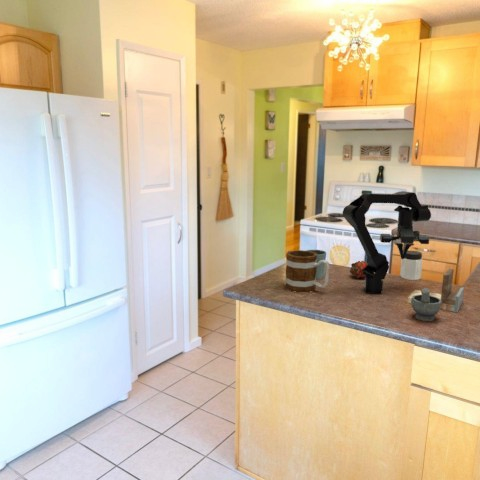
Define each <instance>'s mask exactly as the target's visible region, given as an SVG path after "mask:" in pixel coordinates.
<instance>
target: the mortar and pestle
mask: <svg viewBox="0 0 480 480" xmlns="http://www.w3.org/2000/svg"><path fill="white" fill-rule="evenodd" d="M420 291H421V293H422V295H414V296H413V297H412V299H411V303H410V304H411V308H412V310H413V311H414V312H415V318H416V319H417V320H419V321H422V322H424V321H425V322H431V321H434V320H435V316H436V315H438V313H439V312H440V311H441V309H440V307H441V304H442V300H441V299H439V298H437V297H434V296H430V295H429V294H430V292H431V290H430V289H429V288H428V287H425V288H422V289H421V290H420Z"/></svg>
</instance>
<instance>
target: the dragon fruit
mask: <svg viewBox="0 0 480 480" xmlns="http://www.w3.org/2000/svg"><path fill="white" fill-rule="evenodd" d="M350 266H351V267H350V270H349V272H350V274H351V275H352V276H355V278H357V279H361V278H364V279H365V275H363V272H362V270H363V269H364V268H365V267H366V266H367V262H366V261H365V260H361V261H360V260H358V261H356V262H354V263H351V264H350Z"/></svg>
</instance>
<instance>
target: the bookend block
mask: <svg viewBox="0 0 480 480" xmlns="http://www.w3.org/2000/svg"><path fill="white" fill-rule="evenodd" d="M454 272H455V269H453V268H447V270H445V272H444V273H443V276H442V282H441V283H442V286H441V293H440V294H441V300H442V303H444V304H449V305H455V299H456V295H457V293H458V292H454V291H452V289H453V280H454Z"/></svg>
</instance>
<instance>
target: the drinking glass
mask: <svg viewBox="0 0 480 480" xmlns="http://www.w3.org/2000/svg"><path fill="white" fill-rule="evenodd" d="M305 251H311V252H315V253H318V254H317V262H316V263H318V262H319V261H320V260H326V258H327V252H326V251H325V250H321V249H307V250H305ZM325 269H326V264H325V263H324V262H323V263H321V264H320V265H318V266H317V272H316V279H319V280H322V278H323V279H324V278H325Z"/></svg>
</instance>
